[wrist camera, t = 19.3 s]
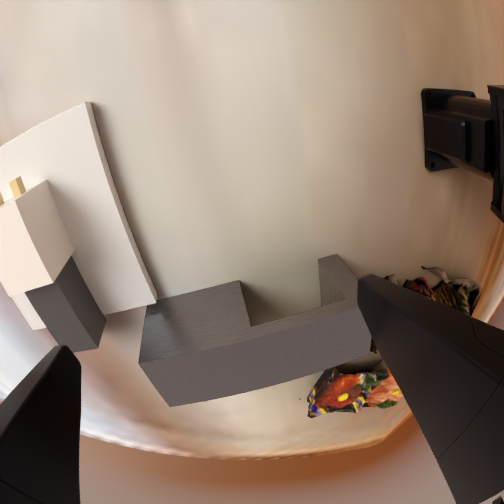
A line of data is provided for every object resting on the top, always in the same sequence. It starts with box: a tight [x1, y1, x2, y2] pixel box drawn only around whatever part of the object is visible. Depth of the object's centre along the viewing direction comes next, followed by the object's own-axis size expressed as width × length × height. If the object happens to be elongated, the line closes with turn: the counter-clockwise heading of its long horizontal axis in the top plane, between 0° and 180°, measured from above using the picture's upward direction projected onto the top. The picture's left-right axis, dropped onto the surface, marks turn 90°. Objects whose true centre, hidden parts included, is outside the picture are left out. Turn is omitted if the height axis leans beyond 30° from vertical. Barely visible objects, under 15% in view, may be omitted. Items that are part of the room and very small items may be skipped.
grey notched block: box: [138, 254, 372, 407], centre depth 20 cm, size 14×5×6 cm, turn 101°
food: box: [300, 266, 482, 418], centre depth 29 cm, size 22×19×4 cm
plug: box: [0, 176, 106, 352], centre depth 15 cm, size 4×12×4 cm, turn 12°
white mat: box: [0, 102, 157, 330], centre depth 17 cm, size 12×14×1 cm
